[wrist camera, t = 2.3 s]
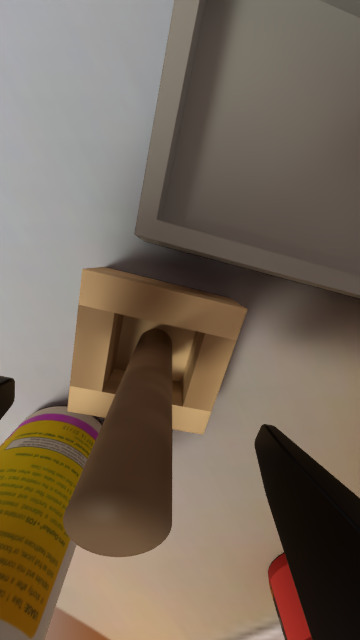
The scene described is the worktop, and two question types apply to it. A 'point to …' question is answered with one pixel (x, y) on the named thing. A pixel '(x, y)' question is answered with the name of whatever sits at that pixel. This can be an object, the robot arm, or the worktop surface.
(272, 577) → the canned food
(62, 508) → the supplement bottle
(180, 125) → the tray
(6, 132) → the worktop surface
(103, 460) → the pin
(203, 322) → the holder
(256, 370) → the worktop surface
